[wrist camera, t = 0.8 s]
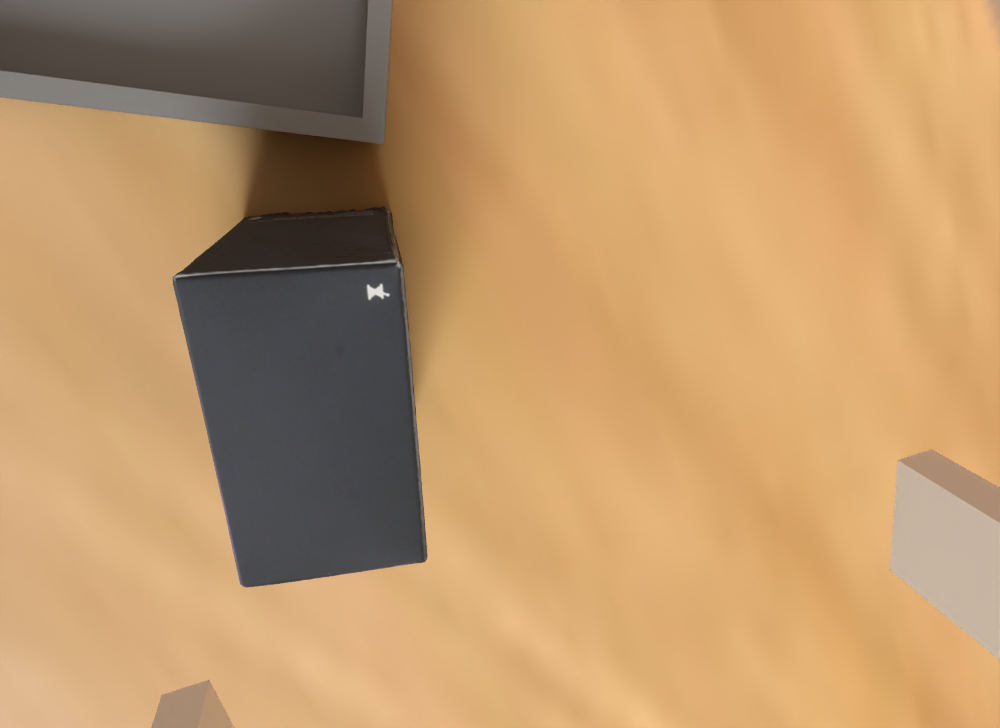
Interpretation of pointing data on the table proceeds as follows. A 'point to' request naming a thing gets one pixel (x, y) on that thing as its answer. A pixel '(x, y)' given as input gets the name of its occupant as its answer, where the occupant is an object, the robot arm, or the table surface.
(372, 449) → the small box
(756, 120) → the table surface
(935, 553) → the robot arm
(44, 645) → the table surface
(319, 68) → the tray
